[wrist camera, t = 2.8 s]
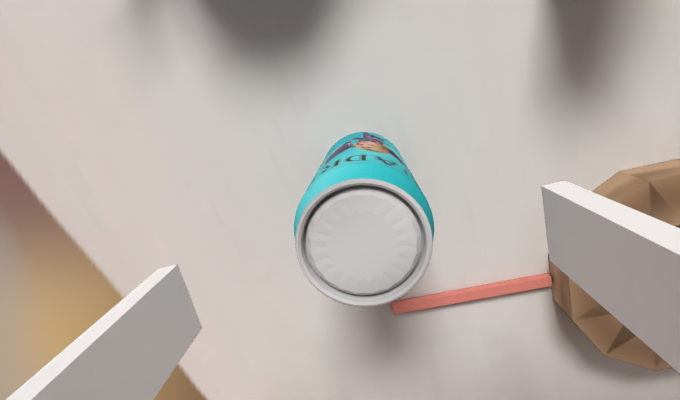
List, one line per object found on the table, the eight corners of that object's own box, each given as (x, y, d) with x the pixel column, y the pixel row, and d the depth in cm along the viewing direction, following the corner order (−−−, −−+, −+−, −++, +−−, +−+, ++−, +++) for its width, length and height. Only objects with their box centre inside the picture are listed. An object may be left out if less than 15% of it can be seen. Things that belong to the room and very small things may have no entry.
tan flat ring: (540, 188, 28) (561, 199, 25) (764, 140, 26) (813, 146, 23) (559, 355, 32) (578, 381, 29) (755, 324, 30) (796, 349, 27)
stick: (391, 302, 31) (391, 306, 31) (547, 273, 30) (551, 276, 29) (393, 310, 32) (393, 314, 31) (548, 282, 30) (552, 285, 29)
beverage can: (401, 128, 27) (444, 169, 13) (401, 203, 29) (438, 314, 15) (323, 131, 28) (280, 173, 13) (327, 205, 29) (292, 314, 15)
